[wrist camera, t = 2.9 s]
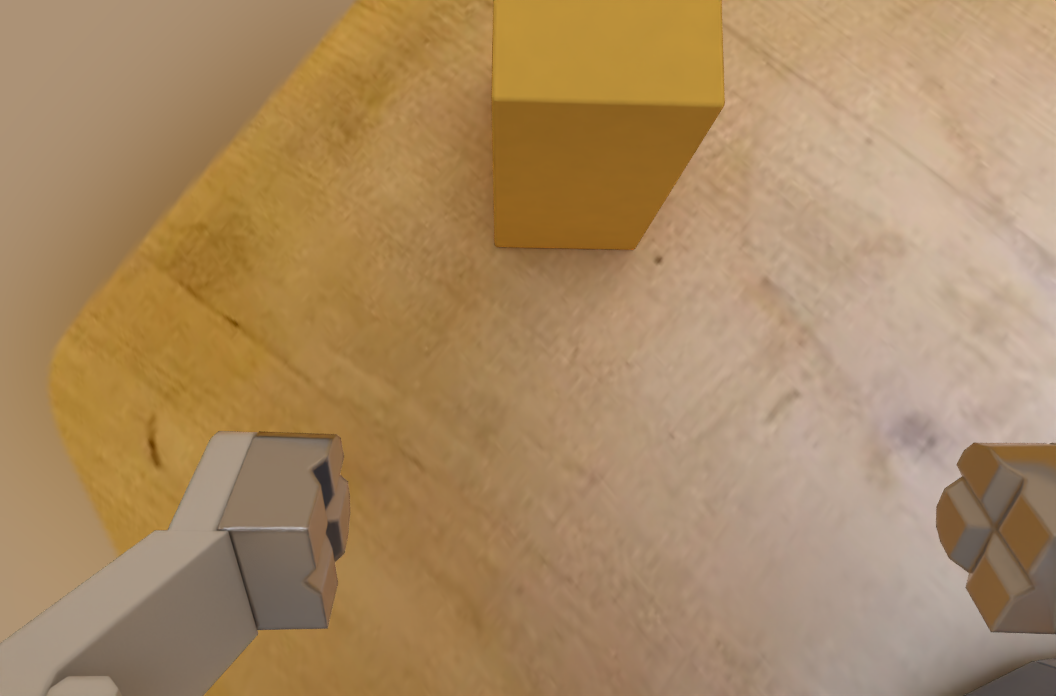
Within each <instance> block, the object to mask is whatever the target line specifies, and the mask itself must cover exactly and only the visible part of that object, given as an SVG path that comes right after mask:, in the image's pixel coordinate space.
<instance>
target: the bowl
mask: <svg viewBox="0 0 1056 696" xmlns="http://www.w3.org/2000/svg"><path fill="white" fill-rule="evenodd" d="M964 696H1056V658H1053V659H1044V660H1037V661H1032V662H1030V663H1028V664H1026V665H1024V666H1022V667H1020V668H1018V669H1016V670H1014V671H1012V672H1010V673H1008V674H1006V675H1004V676H1002V677H1000V678H998V679H996V680H994V681H992V682H990V683H988V684H986V685H984V686H982V687H980V688H978V689H976V690H974V691H972V692H970V693H968V694H966V695H964Z"/></svg>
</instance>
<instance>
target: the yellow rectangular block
mask: <svg viewBox="0 0 1056 696" xmlns="http://www.w3.org/2000/svg"><path fill="white" fill-rule="evenodd" d="M491 100H492V148H493V196H494V244H495V246H496V247H526V248H575V249H624V250H633V249H635V248H636V246H637V245H638V243H639V241H640V240H641V238H642V237H643V235H644V233H645V232H646V230H647V229H648V227H649V225H650V224H651V222H652V221H653V219H654V217H655V216H656V214H657V213H658V211H659V209H660V208H661V206H662V205H663V203H664V201H665V200H666V198H667V196H668V195H669V193H670V192H671V190H672V188H673V187H674V185H675V184H676V182H677V180H678V179H679V177H680V176H681V174H682V172H683V171H684V169H685V168H686V166H687V164H688V163H689V161H690V160H691V158H692V156H693V155H694V153H695V152H696V150H697V148H698V147H699V145H700V144H701V142H702V140H703V139H704V137H705V136H706V134H707V132H708V131H709V129H710V128H711V126H712V124H713V123H714V121H715V120H716V118H717V116H718V115H719V113H720V112H721V110H722V108H723V107H724V104H725V98H724V66H723V33H722V0H493V41H492V95H491Z"/></svg>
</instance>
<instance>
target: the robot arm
mask: <svg viewBox="0 0 1056 696" xmlns="http://www.w3.org/2000/svg"><path fill="white" fill-rule="evenodd" d="M343 460H344V453H343V447H342V442H341V438H340V437H339V436H338V435H337V434H312V433H285V432H258V433H257V432H235V431H218V432H217V433H216V434H215V435H214V436H213V437H212V438H211V439H210V440H209V442H208V444H207V446H206V449H205V451H204V453H203V455H202V457H201V459H200V461H199V464H198V466H197V468H196V470H195V472H194V474H193V476H192V479H191V481H190V483H189V485H188V487H187V489H186V491H185V494H184V496H183V498H182V500H181V502H180V504H179V506H178V509H177V511H176V513H175V515H174V517H173V519H172V521H171V524H170V526H169V528H168V530H155V531H153V532H152V533H151V534H149V535H148V536H146V537H145V538H144V539H142V540H141V541H140V542H138V543H137V544H136V545H134V546H133V547H131V548H130V549H129V550H127V551H126V552H125V553H123V554H122V555H120V556H119V557H118V558H116V559H115V560H114V561H112V562H111V563H109V564H108V565H107V566H105V567H104V568H103V569H101V570H100V571H98V572H97V573H96V574H95V575H93V576H92V577H90V578H89V579H88V580H86V581H85V582H83V583H82V584H81V585H79V586H78V587H77V588H75V589H74V590H72V591H71V592H70V593H68V594H67V595H66V596H64V597H63V598H62V599H60V600H59V601H57V602H56V603H55V604H54V605H52V606H51V607H49V608H48V609H46V610H45V611H44V612H42V613H41V614H40V615H38V616H37V617H35V618H34V619H33V620H31V621H30V622H28V623H27V624H26V625H24V626H23V627H22V628H20V629H19V630H18V631H16V632H15V633H13V634H12V635H11V636H9V637H8V638H7V639H5V640H4V641H3V642H1V643H0V696H203V695H204V694H205V693H206V692H207V691H208V690H209V689H210V687H211V686H212V685H213V684H214V683H215V682H216V681H217V680H218V678H219V677H220V676H221V675H222V674H223V673H224V672H225V671H226V670H227V668H228V667H229V666H230V665H231V664H232V663H233V662H234V661H235V659H236V658H237V657H238V656H239V655H240V654H241V653H242V652H243V651H244V649H245V648H246V647H247V646H248V645H249V644H250V643H251V642H252V640H253V639H254V638H255V637H256V636H257V635H258V631H257V630H279V629H325V628H328V625H329V621H330V617H331V612H332V608H333V603H334V599H335V594H336V590H337V586H338V579H337V573H336V567H335V562H336V561H337V560H338V559H339V558H340V557H341V556H342V555H343V554H344V553H345V549H346V544H347V539H348V533H349V522H350V493H349V486H348V481H347V480H346V479H344V478H343V477H342V476H341V475H340V472H341V468H342V464H343ZM957 467H958V469H959V471H960V473H961V475H962V477H961V478H959V479H958V480H956V481H955V482H953V483H952V484H950V485H949V486H947V487H946V488H945V489H944V491H943V493H942V495H941V498H940V500H939V502H938V504H937V507H936V528H937V531H938V535H939V539H940V542H941V544H942V546H943V548H944V550H945V552H946V553H947V555H948V557H949V559H951V560H952V561H953V562H955V563H956V564H957V565H959V566H960V567H962V568H963V569H964V570H966V571H967V572H968V573H969V575H968V579H967V583H966V589H967V591H968V593H969V594H970V596H971V598H972V600H973V601H974V603H975V605H976V607H977V608H978V610H979V612H980V614H981V615H982V617H983V619H984V621H985V622H986V624H987V626H988V628H989V629H990V631H991V632H1004V633H1034V634H1056V443H1050V444H1047V443H973V444H972V445H970V446H969V447H968V448H967V449H965V450H964V451H963V453H962V455H961V457H960V459H959V461H958V463H957Z"/></svg>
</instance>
